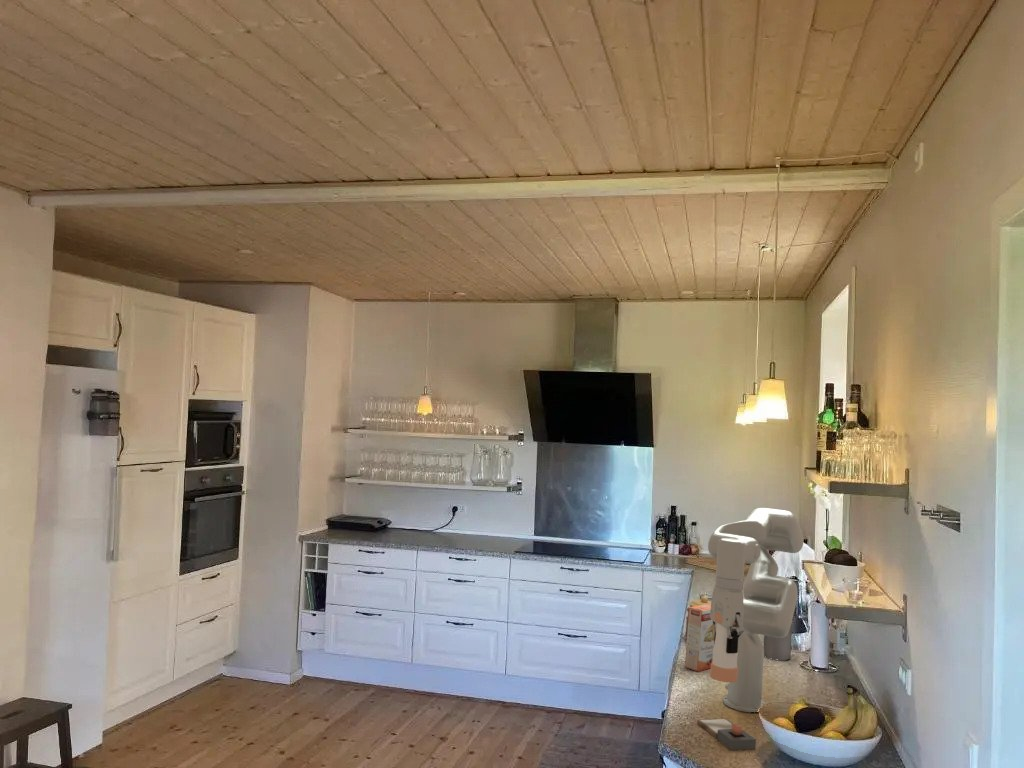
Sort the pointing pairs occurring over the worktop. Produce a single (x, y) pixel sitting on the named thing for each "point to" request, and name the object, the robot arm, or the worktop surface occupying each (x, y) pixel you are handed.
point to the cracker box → (699, 638)
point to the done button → (736, 729)
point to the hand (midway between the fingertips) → (725, 648)
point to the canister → (696, 603)
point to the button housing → (736, 740)
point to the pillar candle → (778, 646)
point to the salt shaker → (723, 655)
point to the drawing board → (715, 725)
